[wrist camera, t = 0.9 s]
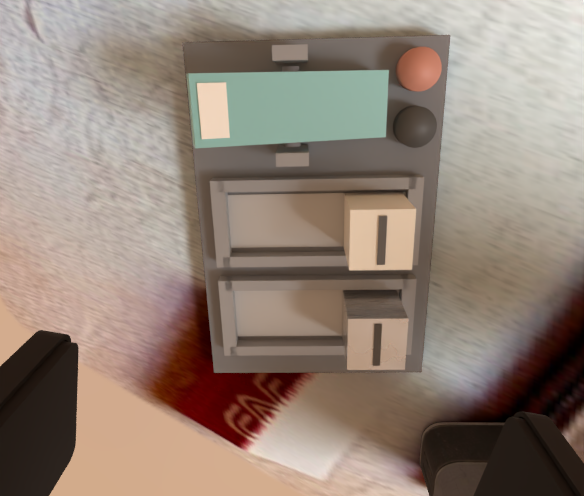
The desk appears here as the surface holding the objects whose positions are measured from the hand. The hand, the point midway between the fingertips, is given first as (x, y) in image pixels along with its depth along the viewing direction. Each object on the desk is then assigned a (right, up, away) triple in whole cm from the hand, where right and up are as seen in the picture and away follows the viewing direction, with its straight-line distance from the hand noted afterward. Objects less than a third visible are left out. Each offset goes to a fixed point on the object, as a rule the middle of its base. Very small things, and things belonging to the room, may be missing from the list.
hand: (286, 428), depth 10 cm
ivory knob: (+6, +6, +23) cm, 24 cm away
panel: (+2, +6, +25) cm, 26 cm away
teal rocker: (0, +12, +18) cm, 22 cm away
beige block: (+6, -1, +25) cm, 26 cm away
